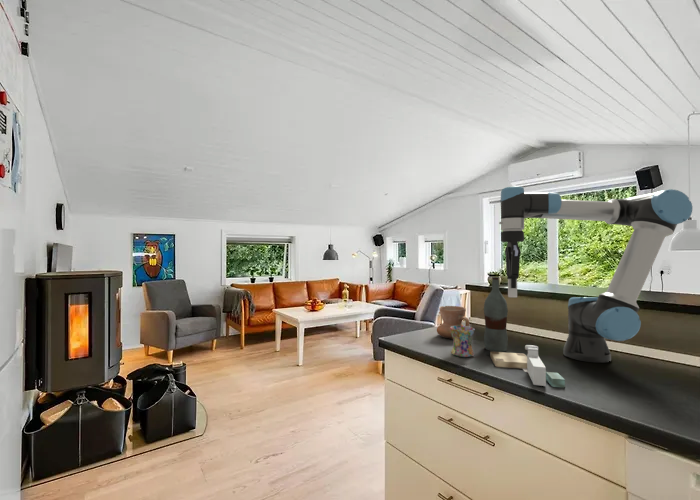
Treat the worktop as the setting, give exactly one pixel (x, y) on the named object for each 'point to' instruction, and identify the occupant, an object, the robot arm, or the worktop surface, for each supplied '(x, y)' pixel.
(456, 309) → the ceramic jug
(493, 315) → the bottle
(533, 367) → the hinged leg
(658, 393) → the worktop surface
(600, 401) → the worktop surface
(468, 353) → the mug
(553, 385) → the stool seat
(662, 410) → the worktop surface
